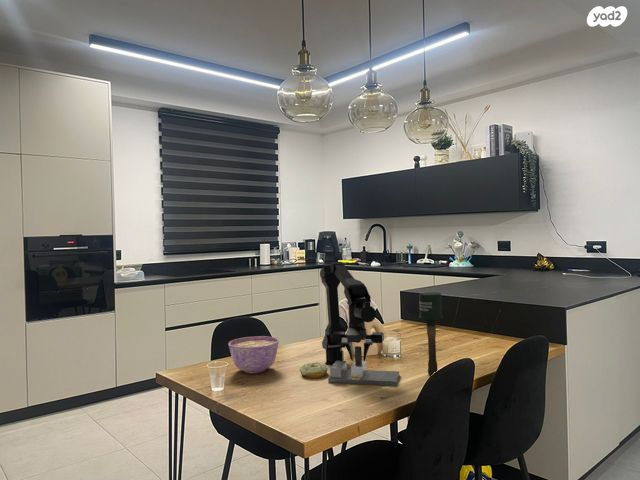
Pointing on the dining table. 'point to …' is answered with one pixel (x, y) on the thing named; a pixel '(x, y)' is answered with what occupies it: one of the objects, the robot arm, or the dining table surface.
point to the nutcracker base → (371, 377)
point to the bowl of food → (254, 353)
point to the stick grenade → (431, 323)
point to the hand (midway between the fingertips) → (358, 360)
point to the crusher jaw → (358, 364)
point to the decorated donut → (313, 370)
